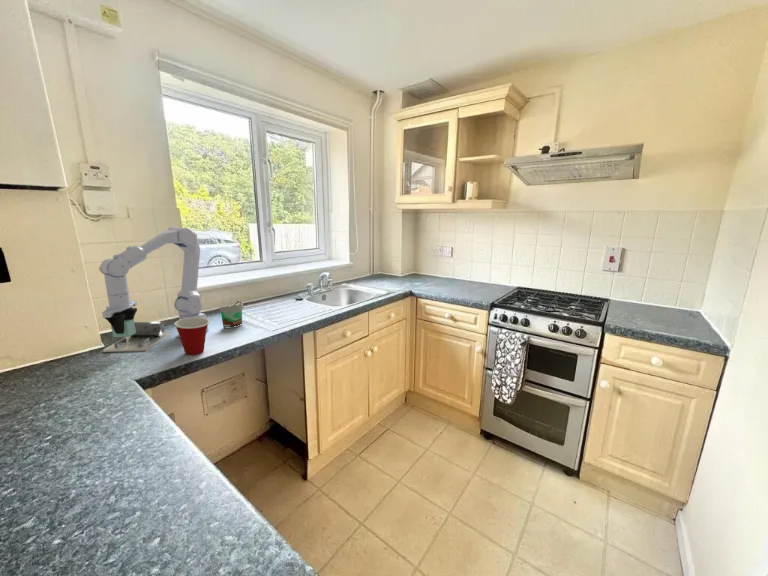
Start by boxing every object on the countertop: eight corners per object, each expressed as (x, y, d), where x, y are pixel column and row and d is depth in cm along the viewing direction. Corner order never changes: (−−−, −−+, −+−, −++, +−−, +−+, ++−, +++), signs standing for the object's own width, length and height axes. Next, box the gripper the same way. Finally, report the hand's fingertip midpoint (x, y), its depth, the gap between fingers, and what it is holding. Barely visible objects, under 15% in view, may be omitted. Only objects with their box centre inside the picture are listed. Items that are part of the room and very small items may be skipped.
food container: (233, 330, 139) (231, 308, 137) (221, 329, 140) (219, 307, 138) (250, 321, 151) (249, 301, 149) (238, 320, 152) (237, 300, 150)
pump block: (135, 332, 114) (133, 319, 113) (128, 336, 111) (126, 323, 110) (120, 333, 114) (118, 320, 113) (112, 337, 110) (110, 323, 109)
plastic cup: (200, 359, 110) (197, 326, 108) (170, 358, 111) (166, 325, 108) (218, 347, 121) (215, 317, 118) (190, 346, 121) (187, 316, 119)
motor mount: (169, 334, 132) (167, 319, 130) (145, 351, 116) (143, 333, 114) (132, 335, 130) (130, 320, 128) (103, 352, 114) (100, 334, 112)
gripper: (119, 289, 115) (125, 324, 118) (89, 299, 101) (96, 338, 104) (140, 289, 116) (145, 324, 119) (113, 298, 102) (120, 338, 105)
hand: (124, 331), depth 112 cm, fingers closed on pump block, 4 cm apart
